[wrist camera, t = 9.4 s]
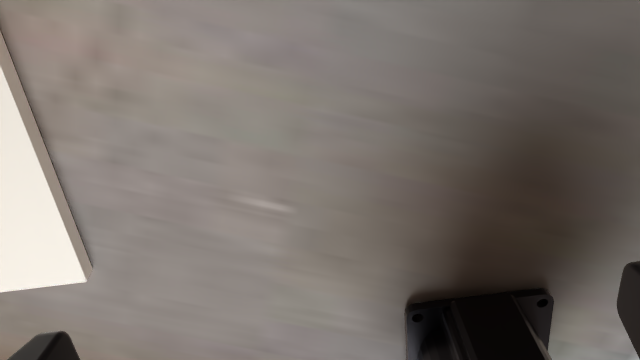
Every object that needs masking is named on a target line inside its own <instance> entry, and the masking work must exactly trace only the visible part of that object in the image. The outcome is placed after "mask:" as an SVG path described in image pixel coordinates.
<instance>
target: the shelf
mask: <svg viewBox="0 0 640 360" xmlns="http://www.w3.org/2000/svg"><path fill="white" fill-rule="evenodd" d="M92 270H93V268H92V266H91V263H90V260H89V258H88V255H87V253H86V250H85V248H84V245H83V242H82V240H81V237H80V235H79V232H78V230H77V227H76V224H75V222H74V219H73V217H72V214H71V211H70V209H69V206H68V204H67V201H66V199H65V196H64V193H63V191H62V188H61V186H60V183H59V181H58V178H57V175H56V173H55V170H54V168H53V165H52V162H51V160H50V157H49V155H48V152H47V150H46V147H45V144H44V142H43V139H42V137H41V134H40V132H39V129H38V126H37V124H36V121H35V119H34V116H33V113H32V111H31V108H30V106H29V103H28V101H27V98H26V95H25V93H24V90H23V88H22V85H21V83H20V80H19V77H18V75H17V72H16V70H15V67H14V64H13V62H12V59H11V57H10V54H9V52H8V49H7V46H6V44H5V41H4V39H3V36H2V34H1V31H0V292H6V291H14V290H22V289H31V288H39V287H47V286H56V285H64V284H72V283H81V282H87V280H88V278H89V276H90V274H91V272H92Z"/></svg>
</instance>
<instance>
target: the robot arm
mask: <svg viewBox="0 0 640 360" xmlns="http://www.w3.org/2000/svg"><path fill="white" fill-rule="evenodd" d="M540 299H543V300H541V301H539V300H540ZM538 301H539V302H538ZM553 303H554V300H553V297H552V296H551V294H550V293H549V291H548V290H546V289H541V288H539V289H531V290H523V291H514V292H506V293H498V294H489V295H481V296H473V297H464V298H456V299H448V300H439V301H431V302H423V303H415V304H411V305H410V306H408V307H407V308H406V310H405V333H406V356H407V360H552V359H551V357H550V355H549V353H548V352H547V350H548V343H549V335H550V327H551V319H552V311H553ZM617 310H618V314H619V317H620V319H621V321H622V323H623V325H624V327H625V329H626V331H627V333H628V336H629V338H630V340H631V342H632V344H633V346H634V348H635V350H636V352H637V354H638V356H639V358H640V261H637V262H630V263H628V264H627V265H626V266H625V267H624V269H623V273H622V278H621V283H620V288H619V293H618V298H617ZM415 314H420V315H418V316H414V315H415ZM7 360H80V358H79V356H78V354H77V352H76V349H75V347H74V345H73V343H72V340H71V338H70V336H69V335H68V334H67V333H66V332H65V331H54V332H46V333H41V334H38V335H36V336H35V337H34V338H32V339H31V340H30V341H29V342H28V343H26V344H25V345H24V346H23V347H22V348H20V349H19V350H18V351H17V352H16V353H14V354H13V355H12V356H11V357H10V358H8V359H7Z"/></svg>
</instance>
